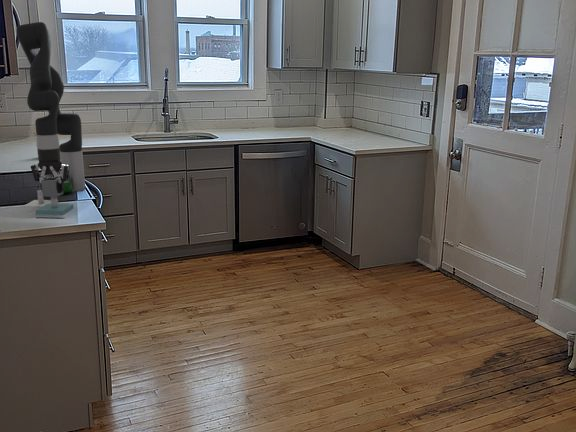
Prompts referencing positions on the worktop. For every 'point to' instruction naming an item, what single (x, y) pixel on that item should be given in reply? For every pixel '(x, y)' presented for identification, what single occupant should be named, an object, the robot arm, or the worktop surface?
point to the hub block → (54, 209)
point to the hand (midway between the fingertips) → (52, 192)
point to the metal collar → (50, 187)
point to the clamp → (67, 188)
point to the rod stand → (39, 200)
